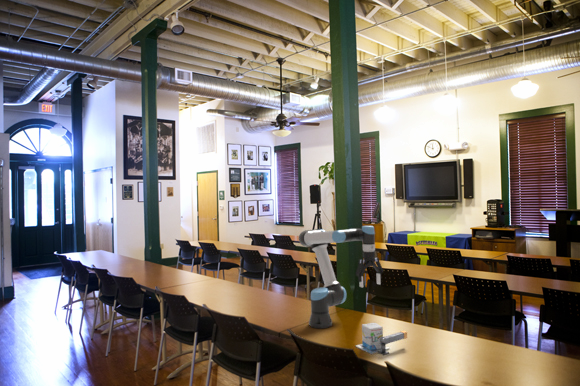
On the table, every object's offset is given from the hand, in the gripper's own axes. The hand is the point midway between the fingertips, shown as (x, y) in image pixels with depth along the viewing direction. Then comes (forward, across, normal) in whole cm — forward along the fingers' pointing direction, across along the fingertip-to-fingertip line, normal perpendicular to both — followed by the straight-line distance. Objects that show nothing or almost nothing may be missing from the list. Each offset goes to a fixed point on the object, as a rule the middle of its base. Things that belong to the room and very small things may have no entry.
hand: (370, 285), depth 238 cm
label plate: (+29, -16, -19) cm, 38 cm away
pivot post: (+29, -16, -28) cm, 43 cm away
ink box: (+28, -16, -19) cm, 37 cm away
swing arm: (+24, -8, -28) cm, 37 cm away
